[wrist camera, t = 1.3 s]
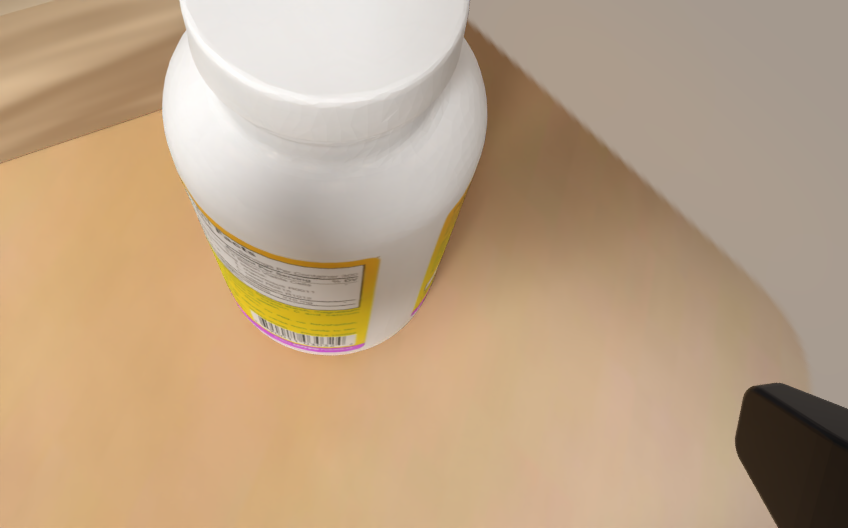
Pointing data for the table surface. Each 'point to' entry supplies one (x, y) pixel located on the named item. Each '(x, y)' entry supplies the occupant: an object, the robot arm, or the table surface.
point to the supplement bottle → (326, 155)
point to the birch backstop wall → (80, 67)
